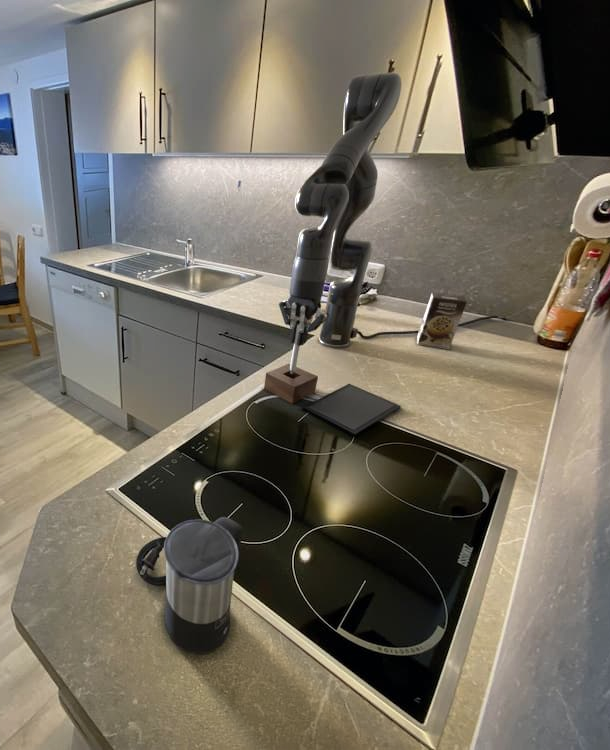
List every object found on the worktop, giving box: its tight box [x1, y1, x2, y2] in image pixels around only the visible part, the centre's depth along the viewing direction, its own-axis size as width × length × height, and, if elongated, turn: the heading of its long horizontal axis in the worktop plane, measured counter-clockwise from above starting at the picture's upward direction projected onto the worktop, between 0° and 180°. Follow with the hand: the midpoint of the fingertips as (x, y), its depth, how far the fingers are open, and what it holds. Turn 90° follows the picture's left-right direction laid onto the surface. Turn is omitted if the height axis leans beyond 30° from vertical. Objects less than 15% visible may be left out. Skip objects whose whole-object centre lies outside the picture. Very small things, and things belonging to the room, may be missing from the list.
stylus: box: [290, 324, 300, 374], centre depth 106 cm, size 1×1×14 cm
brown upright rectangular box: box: [416, 292, 468, 350], centre depth 134 cm, size 9×6×16 cm
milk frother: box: [135, 516, 244, 655], centre depth 57 cm, size 14×16×15 cm
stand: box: [263, 363, 319, 405], centre depth 111 cm, size 9×9×5 cm
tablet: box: [301, 383, 402, 438], centre depth 103 cm, size 20×14×1 cm
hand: (297, 343), depth 105 cm, fingers closed on stylus, 1 cm apart
